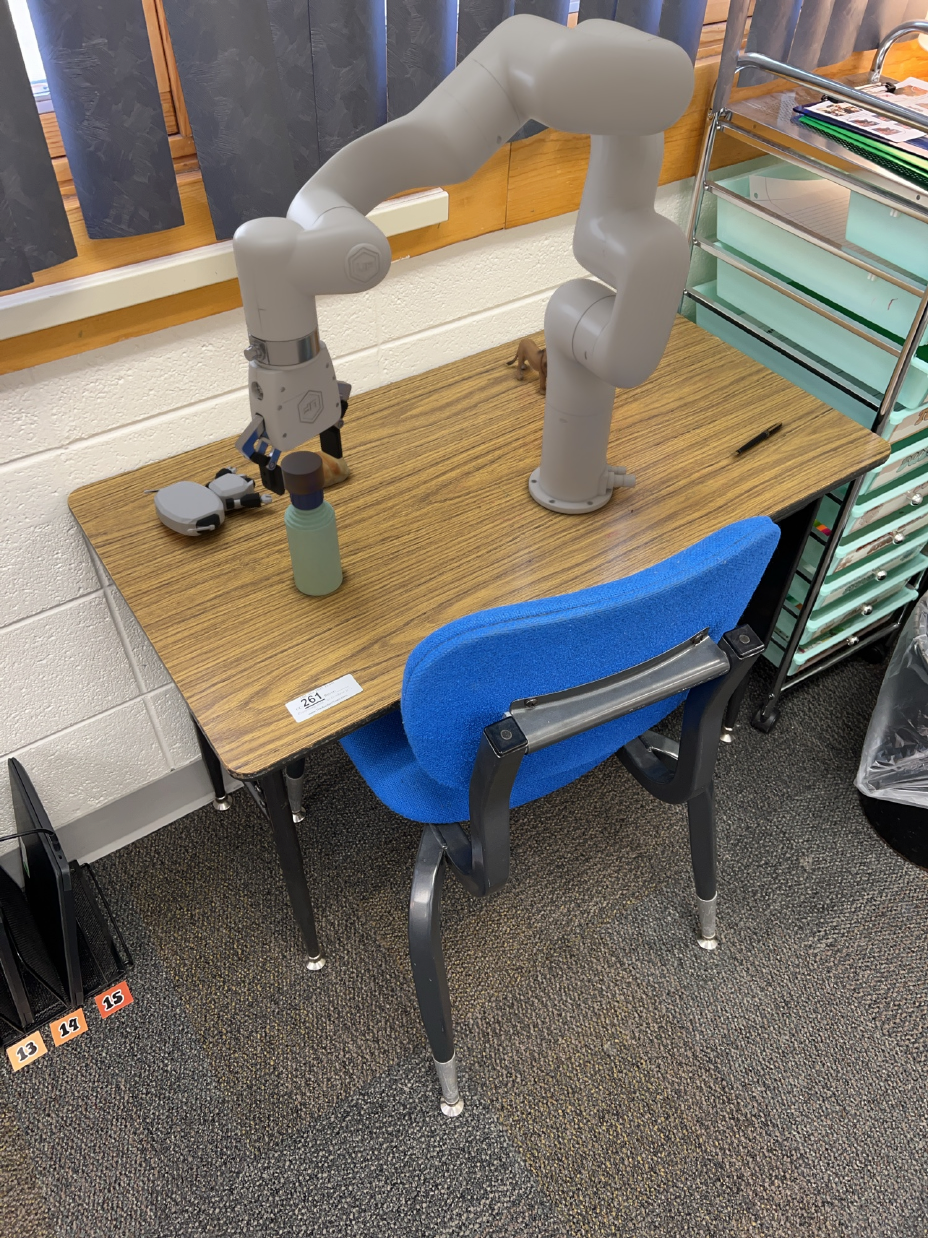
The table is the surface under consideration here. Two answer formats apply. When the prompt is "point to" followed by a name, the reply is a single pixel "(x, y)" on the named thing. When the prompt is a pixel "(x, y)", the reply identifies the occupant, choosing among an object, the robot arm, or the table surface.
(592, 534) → the table surface
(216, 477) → the robot toy
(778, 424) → the fountain pen
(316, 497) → the cap
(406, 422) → the table surface
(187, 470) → the table surface
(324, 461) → the pastry
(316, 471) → the cylinder
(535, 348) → the lion figurine
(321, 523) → the bottle
